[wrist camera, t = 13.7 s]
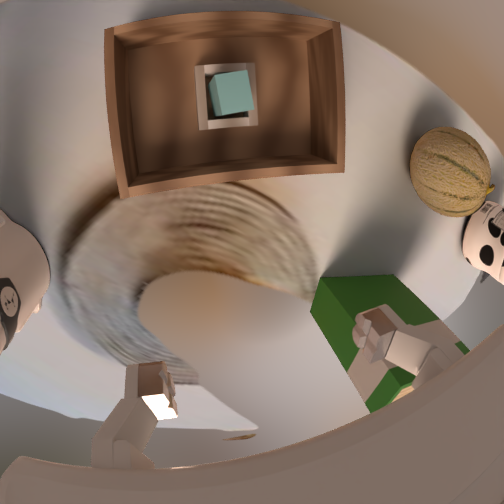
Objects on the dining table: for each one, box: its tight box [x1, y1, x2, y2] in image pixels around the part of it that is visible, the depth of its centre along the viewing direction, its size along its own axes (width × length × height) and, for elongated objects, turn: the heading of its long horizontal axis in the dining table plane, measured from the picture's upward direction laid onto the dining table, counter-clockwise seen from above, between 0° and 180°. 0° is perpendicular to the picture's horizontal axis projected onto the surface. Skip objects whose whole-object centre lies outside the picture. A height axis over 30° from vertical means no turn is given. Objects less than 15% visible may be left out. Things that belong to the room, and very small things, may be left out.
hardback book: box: [310, 274, 470, 413], centre depth 39 cm, size 18×7×24 cm, turn 82°
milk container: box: [462, 201, 504, 285], centre depth 44 cm, size 17×17×18 cm
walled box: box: [104, 11, 345, 199], centre depth 26 cm, size 24×18×8 cm
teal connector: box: [208, 70, 254, 116], centre depth 25 cm, size 3×4×8 cm
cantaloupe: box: [410, 127, 495, 217], centre depth 33 cm, size 15×15×15 cm
